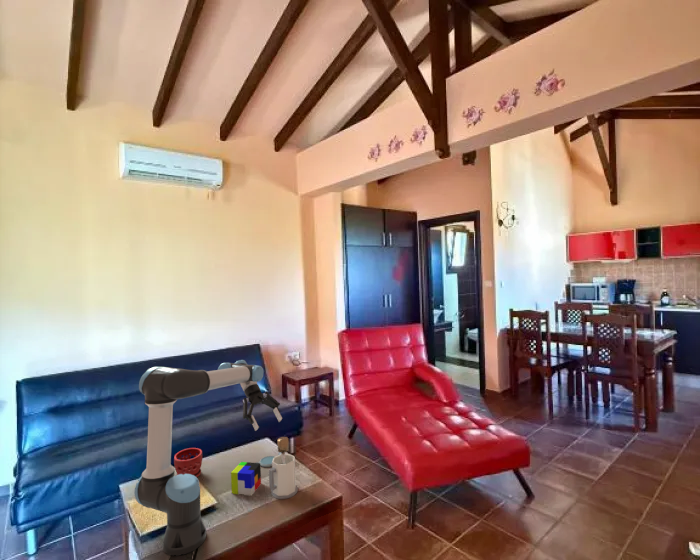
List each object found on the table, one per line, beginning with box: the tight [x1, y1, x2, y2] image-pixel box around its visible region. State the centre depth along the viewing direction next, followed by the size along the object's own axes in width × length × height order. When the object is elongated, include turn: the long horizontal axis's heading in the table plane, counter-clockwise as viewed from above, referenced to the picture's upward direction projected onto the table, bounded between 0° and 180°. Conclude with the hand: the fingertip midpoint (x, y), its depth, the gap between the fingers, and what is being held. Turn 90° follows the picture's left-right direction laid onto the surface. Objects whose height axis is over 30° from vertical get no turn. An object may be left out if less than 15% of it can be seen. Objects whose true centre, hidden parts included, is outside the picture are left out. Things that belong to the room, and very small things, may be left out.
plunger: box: [277, 436, 290, 464], centre depth 174 cm, size 8×8×22 cm
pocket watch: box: [255, 452, 282, 468], centre depth 201 cm, size 10×11×15 cm
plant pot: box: [173, 447, 203, 478], centre depth 190 cm, size 13×13×12 cm
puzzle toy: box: [230, 461, 262, 496], centre depth 178 cm, size 10×10×10 cm
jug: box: [268, 453, 299, 500], centre depth 174 cm, size 14×12×15 cm
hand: (269, 424), depth 181 cm, fingers open, 13 cm apart
